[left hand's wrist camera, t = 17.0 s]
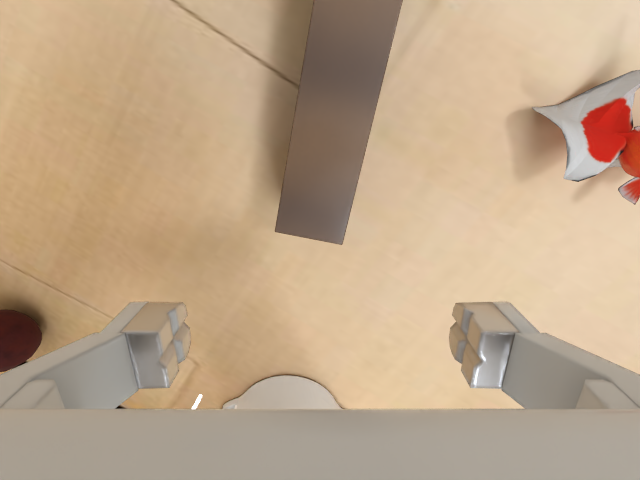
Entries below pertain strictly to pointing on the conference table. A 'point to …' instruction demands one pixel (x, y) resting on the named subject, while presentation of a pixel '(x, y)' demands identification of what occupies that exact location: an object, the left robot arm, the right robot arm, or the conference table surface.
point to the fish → (601, 131)
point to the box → (334, 114)
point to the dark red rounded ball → (17, 338)
